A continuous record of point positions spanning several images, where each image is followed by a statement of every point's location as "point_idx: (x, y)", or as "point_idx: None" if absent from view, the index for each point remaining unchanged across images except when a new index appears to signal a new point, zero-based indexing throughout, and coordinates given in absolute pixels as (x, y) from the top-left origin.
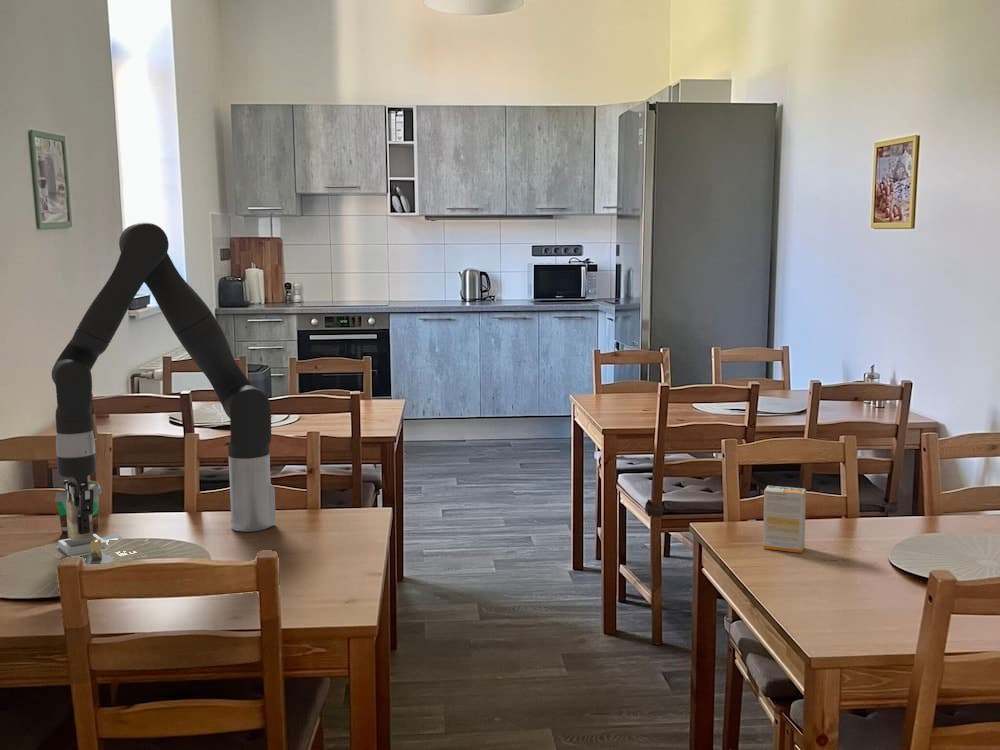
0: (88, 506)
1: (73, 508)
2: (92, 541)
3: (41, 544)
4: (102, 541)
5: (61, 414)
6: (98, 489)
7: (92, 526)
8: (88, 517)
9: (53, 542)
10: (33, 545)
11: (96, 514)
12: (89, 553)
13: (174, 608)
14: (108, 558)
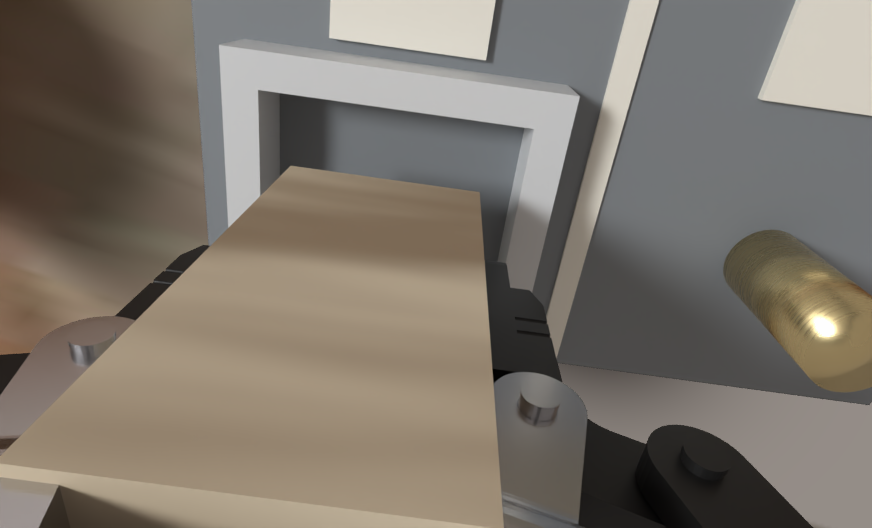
0: (578, 518)
1: None
2: (847, 378)
3: (14, 301)
4: (542, 117)
5: None
6: None
7: (480, 237)
8: (517, 364)
9: (3, 234)
10: (13, 338)
11: None
12: (589, 244)
13: None
14: (830, 196)
